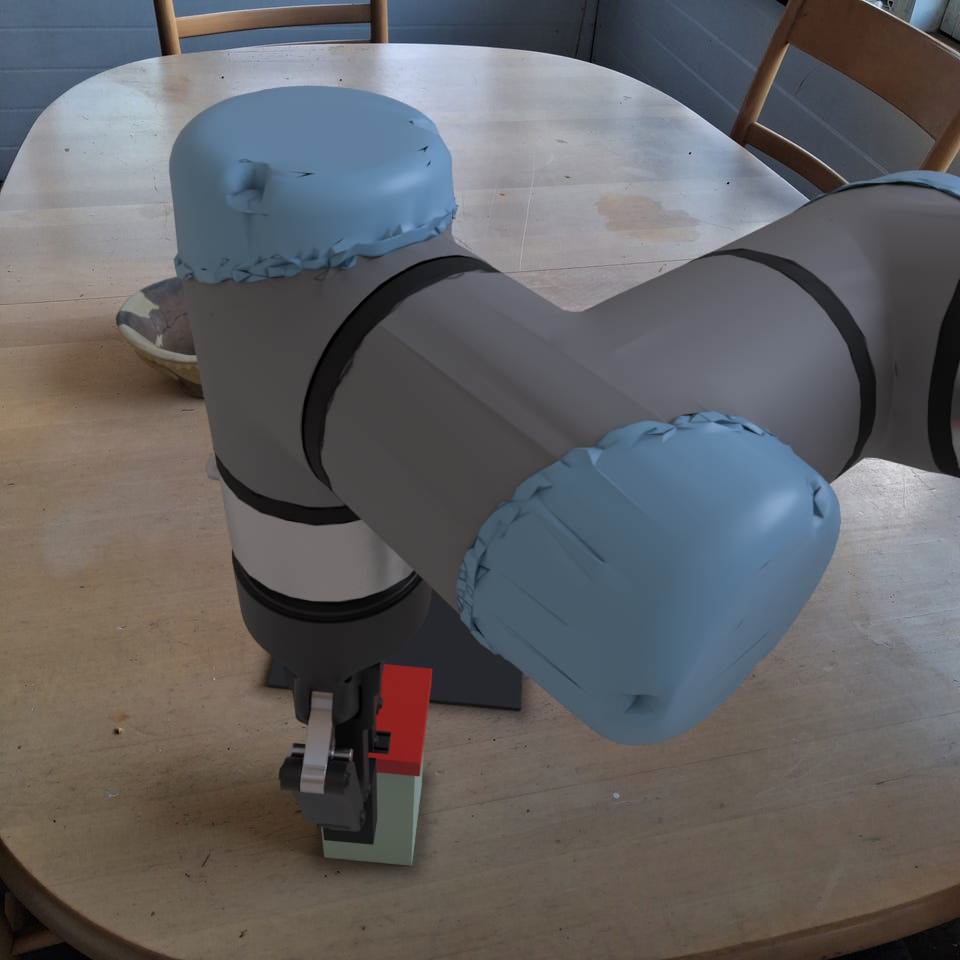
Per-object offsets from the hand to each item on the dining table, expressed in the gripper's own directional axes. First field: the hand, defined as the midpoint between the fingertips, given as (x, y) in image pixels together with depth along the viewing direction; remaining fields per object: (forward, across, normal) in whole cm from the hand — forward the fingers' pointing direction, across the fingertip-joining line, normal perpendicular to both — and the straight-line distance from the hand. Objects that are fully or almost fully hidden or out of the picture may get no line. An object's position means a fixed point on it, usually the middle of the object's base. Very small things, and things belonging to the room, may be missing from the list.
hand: (351, 829), depth 50 cm
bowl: (+13, -55, -24) cm, 62 cm away
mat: (+13, -32, 0) cm, 35 cm away
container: (+13, -7, 0) cm, 15 cm away
